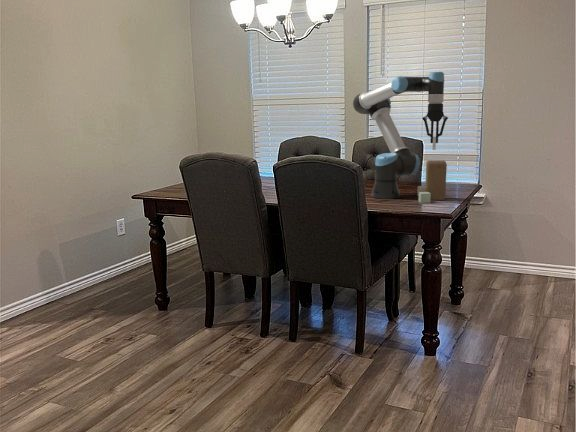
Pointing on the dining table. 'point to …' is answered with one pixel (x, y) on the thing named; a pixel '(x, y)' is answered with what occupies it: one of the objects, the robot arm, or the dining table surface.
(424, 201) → the sage cube
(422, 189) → the cream cube
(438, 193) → the wooden block
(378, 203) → the dining table surface
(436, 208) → the dining table surface
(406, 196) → the dining table surface
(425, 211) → the dining table surface
